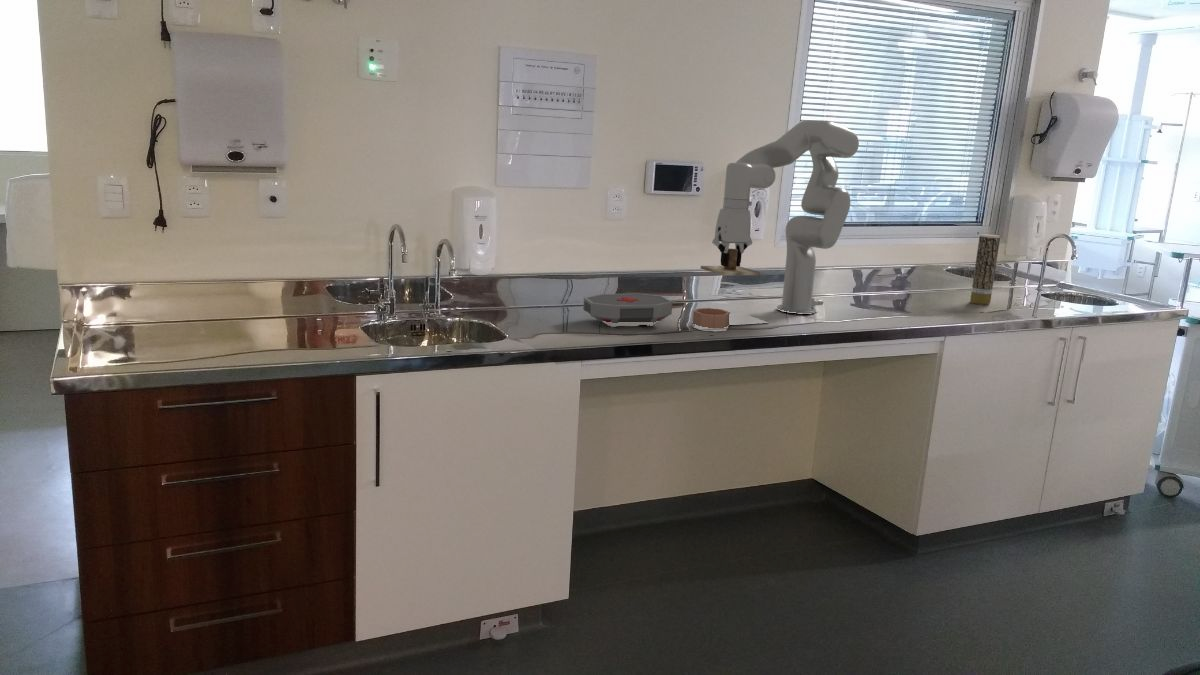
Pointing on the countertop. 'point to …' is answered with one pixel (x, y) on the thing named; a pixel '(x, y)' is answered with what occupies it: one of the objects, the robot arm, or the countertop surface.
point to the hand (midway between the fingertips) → (730, 265)
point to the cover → (731, 266)
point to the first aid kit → (627, 307)
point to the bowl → (711, 317)
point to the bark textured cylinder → (985, 269)
